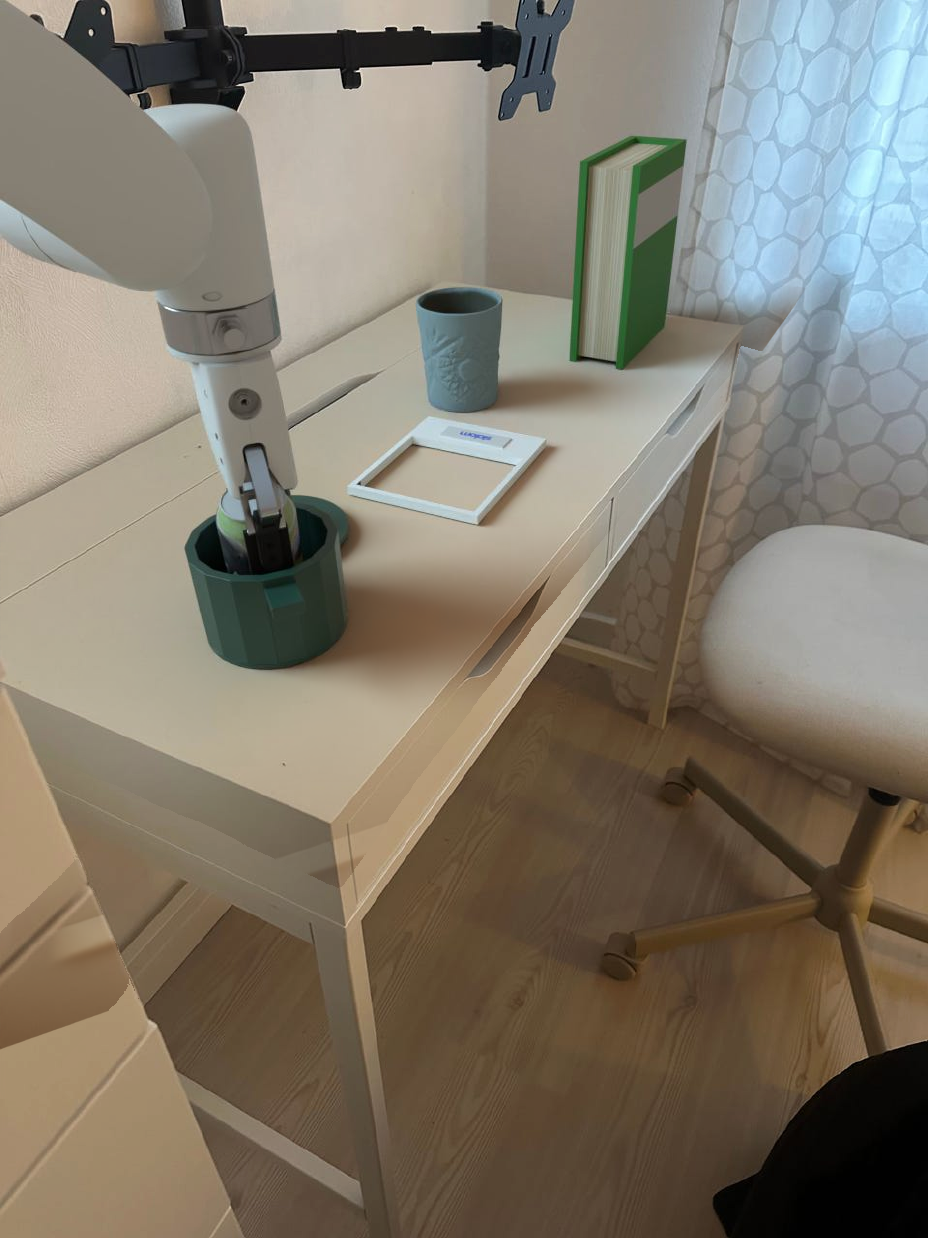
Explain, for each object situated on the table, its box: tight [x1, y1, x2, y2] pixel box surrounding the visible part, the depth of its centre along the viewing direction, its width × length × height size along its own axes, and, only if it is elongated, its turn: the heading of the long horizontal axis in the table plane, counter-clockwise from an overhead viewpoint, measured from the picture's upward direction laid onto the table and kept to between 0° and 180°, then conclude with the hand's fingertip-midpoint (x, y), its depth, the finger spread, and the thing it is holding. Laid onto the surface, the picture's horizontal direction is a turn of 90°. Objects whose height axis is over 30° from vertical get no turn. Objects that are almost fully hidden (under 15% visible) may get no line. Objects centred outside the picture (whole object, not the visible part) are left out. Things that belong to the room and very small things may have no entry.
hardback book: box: [569, 135, 688, 370], centre depth 116 cm, size 18×7×24 cm, turn 152°
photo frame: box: [346, 415, 547, 526], centre depth 95 cm, size 15×1×18 cm
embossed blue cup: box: [414, 286, 504, 413], centre depth 106 cm, size 10×10×12 cm
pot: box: [183, 501, 349, 670], centre depth 72 cm, size 12×17×8 cm
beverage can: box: [215, 482, 303, 575], centre depth 71 cm, size 6×7×12 cm
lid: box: [276, 479, 350, 547], centre depth 83 cm, size 13×13×6 cm
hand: (263, 548), depth 70 cm, fingers closed on beverage can, 6 cm apart
